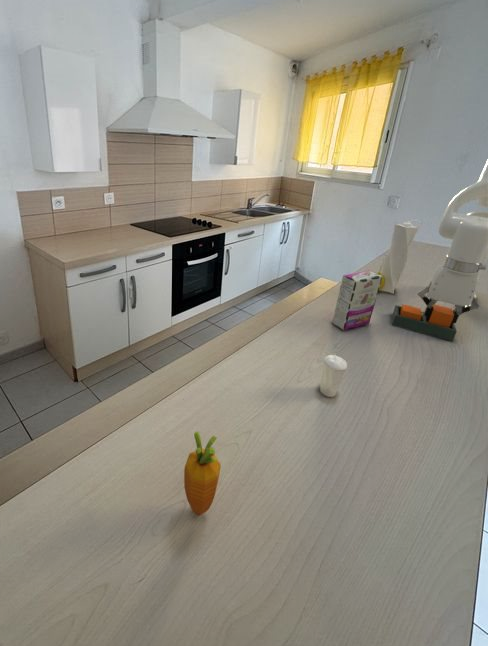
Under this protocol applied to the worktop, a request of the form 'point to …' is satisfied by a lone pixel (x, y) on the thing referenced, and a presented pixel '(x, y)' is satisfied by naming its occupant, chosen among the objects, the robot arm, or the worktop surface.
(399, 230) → the skyscraper
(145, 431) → the worktop surface
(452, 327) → the pad holder
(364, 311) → the candy bar box
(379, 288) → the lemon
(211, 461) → the carrot
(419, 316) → the seated pad
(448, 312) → the loose pad
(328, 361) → the milkshake
